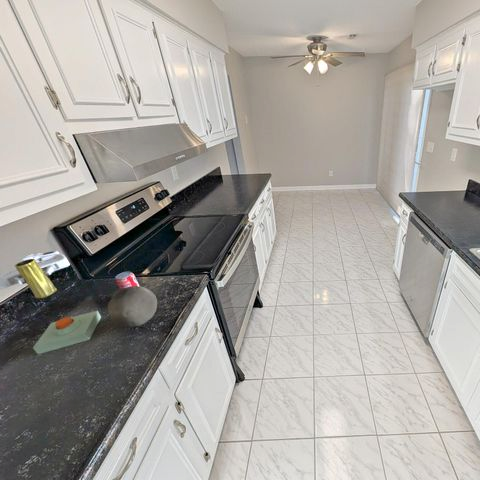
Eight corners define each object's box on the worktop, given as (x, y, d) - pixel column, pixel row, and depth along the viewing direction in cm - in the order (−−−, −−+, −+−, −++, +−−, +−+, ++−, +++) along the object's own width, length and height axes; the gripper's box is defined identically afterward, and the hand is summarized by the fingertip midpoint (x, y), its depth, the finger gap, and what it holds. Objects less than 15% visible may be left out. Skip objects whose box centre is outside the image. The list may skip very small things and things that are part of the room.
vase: (38, 300, 94) (15, 268, 88) (33, 295, 97) (10, 264, 91) (59, 291, 99) (38, 260, 92) (54, 286, 102) (33, 256, 95)
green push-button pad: (38, 354, 83) (29, 343, 81) (56, 328, 93) (48, 318, 91) (89, 339, 88) (82, 329, 85) (101, 316, 98) (95, 307, 95)
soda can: (125, 305, 103) (112, 281, 97) (127, 297, 107) (114, 273, 102) (143, 299, 105) (131, 275, 100) (144, 291, 110) (132, 268, 105)
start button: (55, 330, 86) (52, 327, 85) (61, 322, 89) (58, 319, 88) (69, 326, 87) (67, 323, 86) (74, 319, 91) (72, 315, 90)
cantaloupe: (114, 325, 93) (95, 293, 86) (156, 304, 102) (142, 273, 95) (125, 345, 84) (105, 311, 77) (169, 320, 93) (155, 288, 87)
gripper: (-11, 270, 94) (-13, 284, 86) (61, 248, 108) (66, 259, 99) (0, 284, 97) (-1, 299, 89) (69, 261, 111) (74, 272, 102)
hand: (35, 277), depth 94 cm, fingers closed on vase, 5 cm apart
